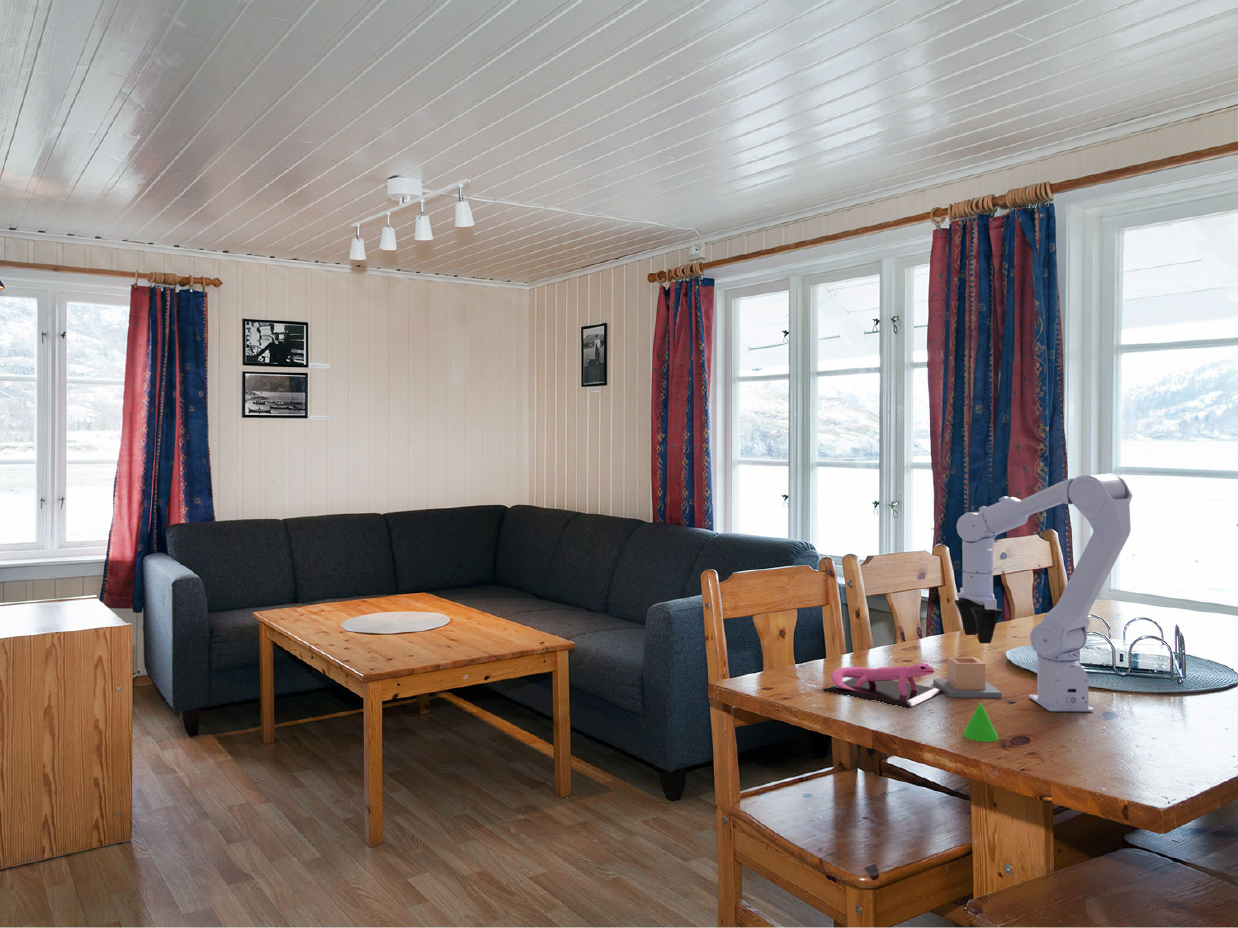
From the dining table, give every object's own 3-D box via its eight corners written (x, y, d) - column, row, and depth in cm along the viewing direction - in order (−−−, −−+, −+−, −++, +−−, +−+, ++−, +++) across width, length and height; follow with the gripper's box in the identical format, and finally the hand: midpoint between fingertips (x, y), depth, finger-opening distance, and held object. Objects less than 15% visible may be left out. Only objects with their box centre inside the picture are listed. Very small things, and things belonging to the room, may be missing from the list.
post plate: (1001, 697, 173) (1001, 671, 173) (948, 697, 174) (948, 671, 174) (983, 683, 183) (983, 659, 183) (933, 683, 184) (933, 659, 184)
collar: (985, 689, 175) (985, 663, 175) (956, 689, 176) (956, 663, 176) (975, 681, 181) (975, 657, 181) (947, 681, 181) (947, 656, 181)
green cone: (955, 737, 151) (955, 701, 151) (970, 729, 155) (970, 694, 155) (990, 745, 146) (990, 708, 146) (1006, 736, 151) (1006, 701, 151)
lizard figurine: (917, 713, 166) (917, 673, 166) (822, 693, 180) (821, 657, 179) (951, 696, 176) (951, 659, 176) (858, 679, 190) (858, 644, 190)
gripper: (945, 566, 189) (945, 631, 189) (970, 577, 175) (970, 646, 175) (979, 566, 189) (979, 631, 189) (1007, 576, 174) (1007, 646, 175)
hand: (977, 638), depth 182 cm, fingers open, 7 cm apart
